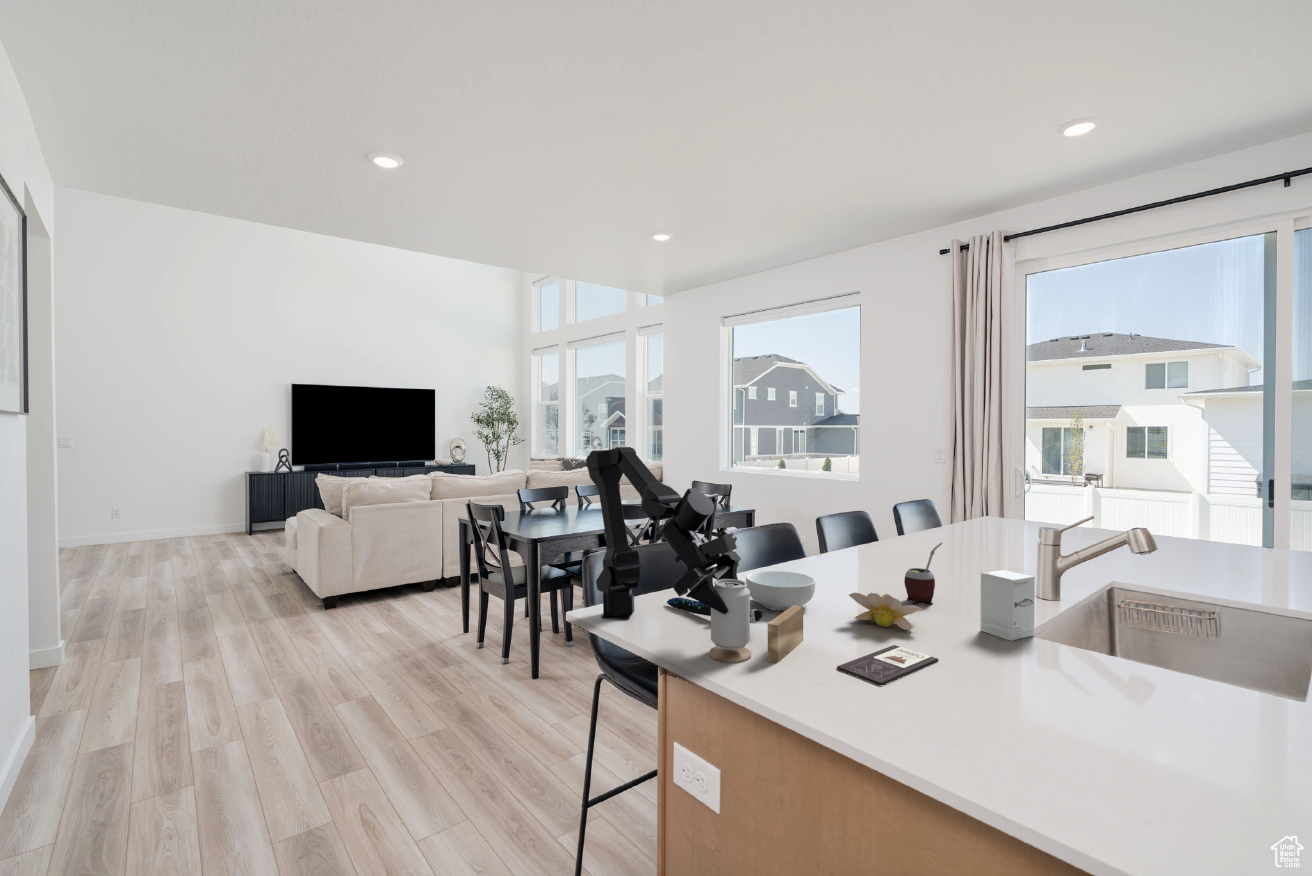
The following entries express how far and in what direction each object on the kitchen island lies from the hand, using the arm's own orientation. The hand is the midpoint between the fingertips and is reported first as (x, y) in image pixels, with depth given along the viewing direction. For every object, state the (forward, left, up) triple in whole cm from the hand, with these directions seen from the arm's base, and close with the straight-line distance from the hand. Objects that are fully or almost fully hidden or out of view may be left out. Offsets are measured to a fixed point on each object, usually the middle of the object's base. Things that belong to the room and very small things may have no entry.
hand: (735, 607), depth 115 cm
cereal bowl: (+10, +34, -10) cm, 37 cm away
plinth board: (+10, +4, -9) cm, 14 cm away
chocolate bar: (+28, -1, -10) cm, 29 cm away
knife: (-6, +22, -10) cm, 24 cm away
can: (-1, +1, -7) cm, 8 cm away
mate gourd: (+45, +42, -10) cm, 62 cm away
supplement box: (+56, +21, -10) cm, 61 cm away
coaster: (-1, 0, -9) cm, 9 cm away
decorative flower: (+33, +23, -10) cm, 41 cm away
